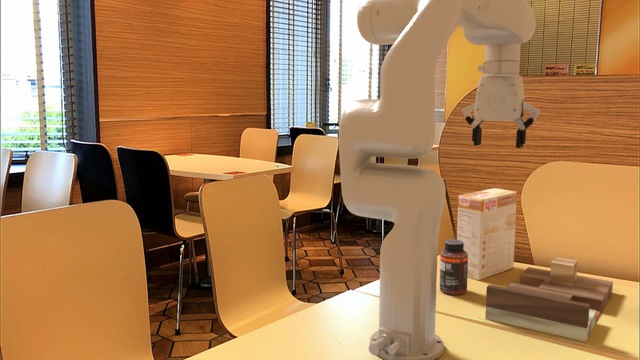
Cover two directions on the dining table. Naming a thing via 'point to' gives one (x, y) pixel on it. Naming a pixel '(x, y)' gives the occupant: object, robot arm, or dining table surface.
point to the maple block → (563, 271)
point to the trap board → (549, 304)
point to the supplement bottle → (453, 268)
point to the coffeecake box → (487, 230)
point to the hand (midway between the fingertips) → (497, 146)
